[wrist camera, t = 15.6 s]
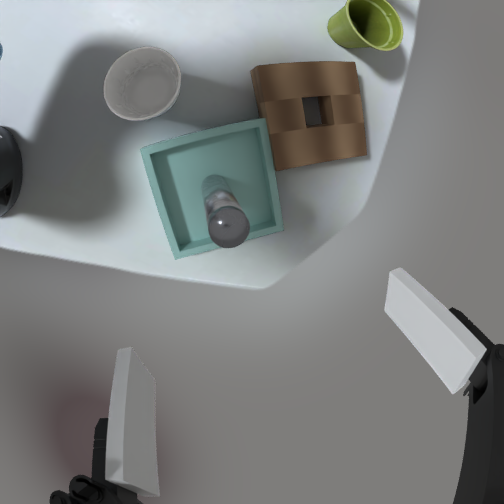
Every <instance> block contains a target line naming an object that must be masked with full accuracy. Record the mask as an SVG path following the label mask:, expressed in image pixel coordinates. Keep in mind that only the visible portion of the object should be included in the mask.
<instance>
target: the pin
mask: <svg viewBox="0 0 504 504" xmlns="http://www.w3.org/2000/svg"><path fill="white" fill-rule="evenodd" d="M201 191H202V197H203V203H204V209H205V214H206V220H207V226H208V231H209V236H210V238H211V240H212V241H213V242H214V243H215V244H216V245H218V246H220V247H223V248H233V247H236V246H238V245H240V244H242V243H243V242H244V241H245V240H246V238H247V237H248V235H249V232H250V223H249V220H248V218H247V217H246V215H245V213H244V211H243V210H242V208H241V206H240V204H239V203H238V201H237V199H236V198H235V196H234V194H233V192H232V191H231V189H230V187H229V185H228V184H227V182H226V180H225V179H224V178H223V177H222V176H219V175H210V176H208V177H206V178H205V179H204V180H203V182H202V185H201Z"/></svg>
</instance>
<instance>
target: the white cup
mask: <svg viewBox="0 0 504 504" xmlns="http://www.w3.org/2000/svg"><path fill="white" fill-rule="evenodd" d="M180 86H181V72H180V68H179V65H178V63H177V62H176V60H175V59H174V57H173V56H172V55H170V54H169V53H168V52H166V51H164V50H162V49H160V48H156V47H140V48H136V49H133V50H130V51H128V52H126V53H125V54H123V55H122V56H120V57H119V58H118V59H117V60H116V61H115V62H114V63H113V64H112V66H111V67H110V69H109V70H108V72H107V74H106V77H105V80H104V85H103V93H104V98H105V101H106V103H107V105H108V107H109V108H110V110H111V111H112V112H113V113H115V114H116V115H117V116H119V117H121V118H124V119H127V120H133V121H139V120H146V119H150V118H154V117H157V116H160V115H161V114H163V113H165V112H167V111H168V110H169V109H170V108H171V107H172V106H173V105H174V104H175V102H176V100H177V98H178V96H179V92H180Z"/></svg>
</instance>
